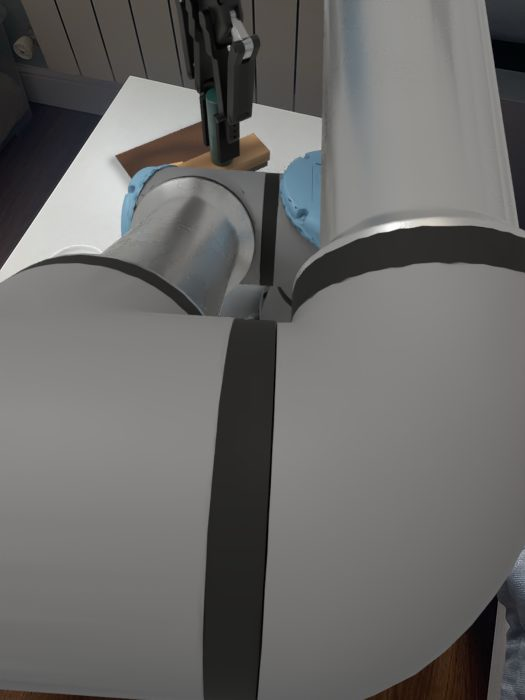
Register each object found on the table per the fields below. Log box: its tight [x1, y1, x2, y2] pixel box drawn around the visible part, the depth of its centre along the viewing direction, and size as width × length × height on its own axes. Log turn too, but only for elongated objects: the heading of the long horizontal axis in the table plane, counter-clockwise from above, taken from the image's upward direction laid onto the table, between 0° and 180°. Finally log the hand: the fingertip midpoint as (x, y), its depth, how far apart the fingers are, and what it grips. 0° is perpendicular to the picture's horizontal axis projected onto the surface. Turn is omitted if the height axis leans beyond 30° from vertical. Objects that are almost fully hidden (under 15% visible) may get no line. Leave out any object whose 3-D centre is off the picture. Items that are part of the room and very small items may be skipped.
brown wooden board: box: [114, 120, 210, 180], centre depth 81 cm, size 22×16×1 cm
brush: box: [177, 87, 271, 171], centre depth 65 cm, size 4×12×12 cm, turn 123°
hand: (221, 149), depth 66 cm, fingers closed on brush, 3 cm apart
